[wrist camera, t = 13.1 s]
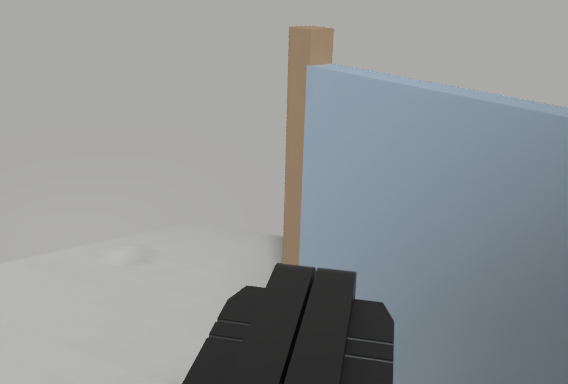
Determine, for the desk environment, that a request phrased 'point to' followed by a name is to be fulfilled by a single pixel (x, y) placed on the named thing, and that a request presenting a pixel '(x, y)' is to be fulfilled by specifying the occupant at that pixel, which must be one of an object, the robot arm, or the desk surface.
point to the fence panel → (433, 214)
